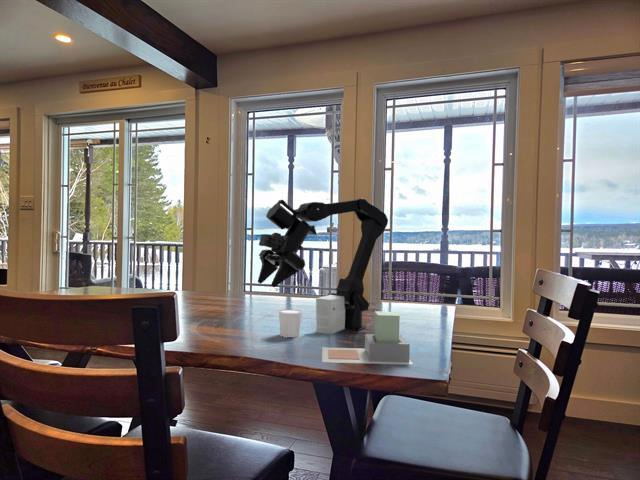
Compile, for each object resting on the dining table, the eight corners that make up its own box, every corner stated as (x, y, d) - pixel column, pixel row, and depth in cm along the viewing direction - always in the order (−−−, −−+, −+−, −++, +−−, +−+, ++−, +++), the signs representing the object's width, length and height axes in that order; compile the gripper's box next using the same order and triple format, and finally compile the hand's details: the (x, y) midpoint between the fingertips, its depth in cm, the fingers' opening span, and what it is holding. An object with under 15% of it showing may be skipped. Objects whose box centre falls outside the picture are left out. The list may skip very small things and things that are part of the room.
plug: (373, 352, 95) (374, 311, 95) (394, 353, 95) (395, 311, 95) (376, 358, 90) (377, 315, 90) (398, 359, 90) (399, 315, 90)
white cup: (303, 333, 118) (303, 309, 118) (299, 338, 111) (300, 313, 111) (280, 332, 119) (281, 308, 119) (275, 337, 112) (276, 312, 112)
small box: (330, 327, 126) (330, 294, 126) (345, 329, 123) (345, 296, 123) (315, 332, 120) (315, 298, 120) (330, 335, 117) (330, 299, 117)
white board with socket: (322, 351, 99) (322, 331, 99) (402, 353, 98) (402, 333, 98) (322, 366, 87) (322, 343, 87) (412, 368, 86) (413, 346, 86)
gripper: (259, 223, 119) (231, 266, 114) (288, 221, 103) (256, 271, 99) (286, 244, 124) (260, 286, 119) (317, 245, 108) (289, 294, 103)
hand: (265, 284), depth 110 cm, fingers open, 9 cm apart
